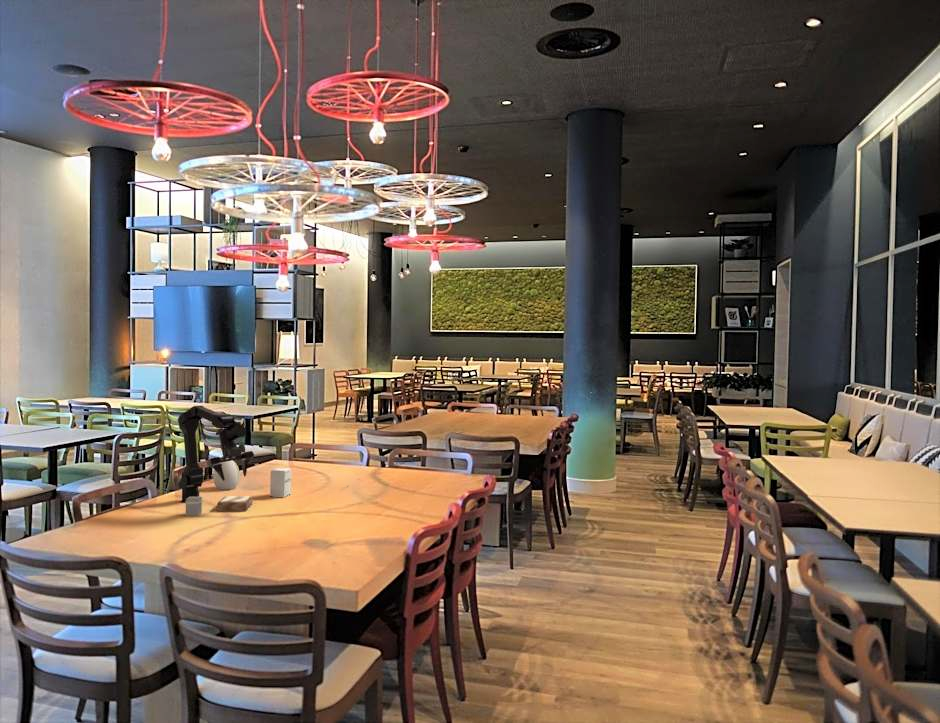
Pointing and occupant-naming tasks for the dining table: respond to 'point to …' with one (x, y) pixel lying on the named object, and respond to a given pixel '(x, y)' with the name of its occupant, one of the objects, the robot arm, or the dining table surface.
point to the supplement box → (280, 482)
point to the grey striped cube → (193, 506)
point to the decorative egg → (227, 476)
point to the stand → (234, 503)
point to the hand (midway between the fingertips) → (234, 478)
